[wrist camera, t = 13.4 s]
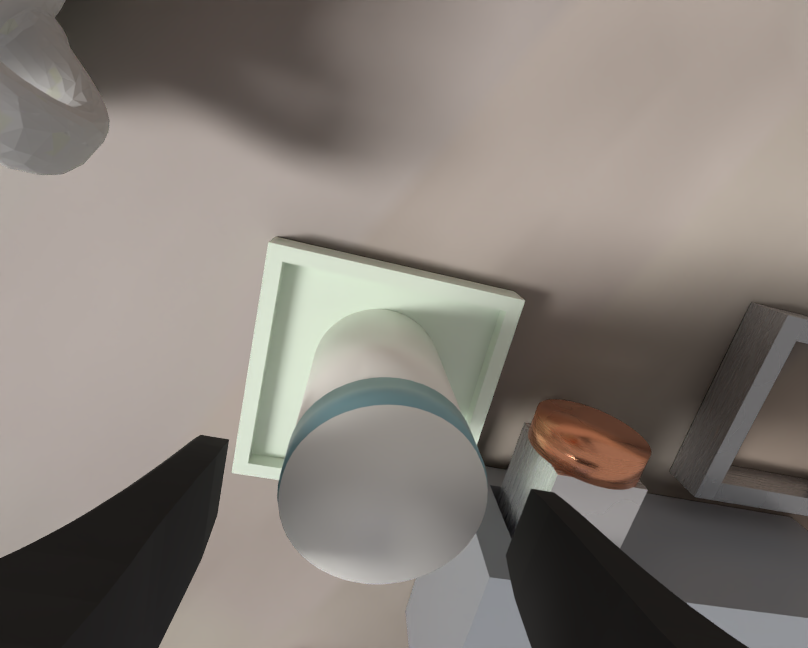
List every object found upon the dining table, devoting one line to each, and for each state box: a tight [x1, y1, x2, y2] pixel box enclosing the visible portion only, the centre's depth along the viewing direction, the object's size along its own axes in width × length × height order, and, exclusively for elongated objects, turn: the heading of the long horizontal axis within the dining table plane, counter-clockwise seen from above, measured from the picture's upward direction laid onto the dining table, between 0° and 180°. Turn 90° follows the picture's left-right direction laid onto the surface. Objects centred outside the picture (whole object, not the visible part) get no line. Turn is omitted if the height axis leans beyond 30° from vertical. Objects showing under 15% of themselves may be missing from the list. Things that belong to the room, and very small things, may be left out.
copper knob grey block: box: [496, 399, 651, 548], centre depth 16 cm, size 9×4×4 cm, turn 166°
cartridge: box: [277, 309, 488, 584], centre depth 13 cm, size 4×4×7 cm
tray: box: [232, 237, 525, 480], centre depth 17 cm, size 8×8×1 cm
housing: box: [406, 466, 808, 648], centre depth 18 cm, size 8×16×6 cm, turn 76°
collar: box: [669, 302, 808, 516], centre depth 18 cm, size 8×8×2 cm
